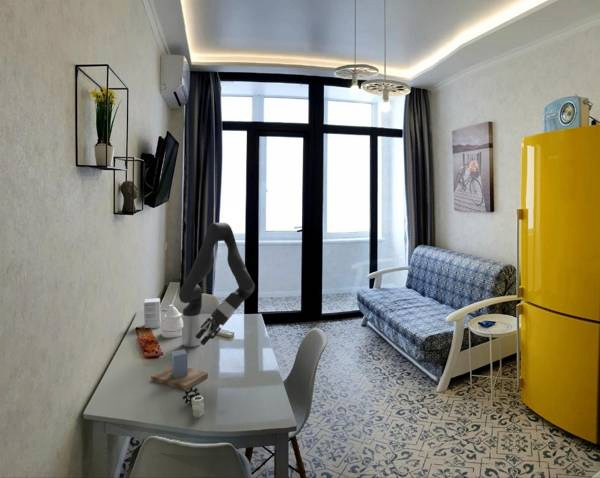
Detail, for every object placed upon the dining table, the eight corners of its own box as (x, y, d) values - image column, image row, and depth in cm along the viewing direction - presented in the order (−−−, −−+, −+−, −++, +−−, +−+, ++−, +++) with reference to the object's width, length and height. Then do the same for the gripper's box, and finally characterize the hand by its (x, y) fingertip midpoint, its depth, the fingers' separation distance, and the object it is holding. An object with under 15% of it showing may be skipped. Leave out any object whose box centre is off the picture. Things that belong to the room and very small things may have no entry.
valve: (208, 415, 145) (199, 401, 155) (208, 398, 144) (199, 385, 154) (191, 420, 141) (182, 405, 152) (190, 402, 141) (182, 389, 151)
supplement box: (145, 324, 250) (144, 298, 249) (160, 323, 253) (160, 297, 251) (144, 329, 241) (143, 302, 240) (160, 327, 244) (159, 301, 242)
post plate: (151, 380, 172) (150, 367, 172) (174, 368, 185) (174, 356, 184) (185, 390, 163) (185, 376, 163) (207, 376, 176) (207, 364, 175)
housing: (174, 378, 170) (174, 356, 169) (171, 373, 175) (171, 351, 174) (187, 375, 173) (187, 353, 172) (184, 370, 178) (184, 349, 177)
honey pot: (180, 337, 226) (179, 307, 225) (158, 337, 227) (157, 307, 225) (187, 330, 239) (186, 301, 237) (166, 330, 239) (165, 301, 238)
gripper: (213, 304, 186) (189, 331, 182) (222, 311, 174) (197, 341, 169) (224, 313, 189) (201, 340, 185) (234, 321, 177) (209, 350, 172)
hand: (199, 340), depth 177 cm, fingers open, 8 cm apart
